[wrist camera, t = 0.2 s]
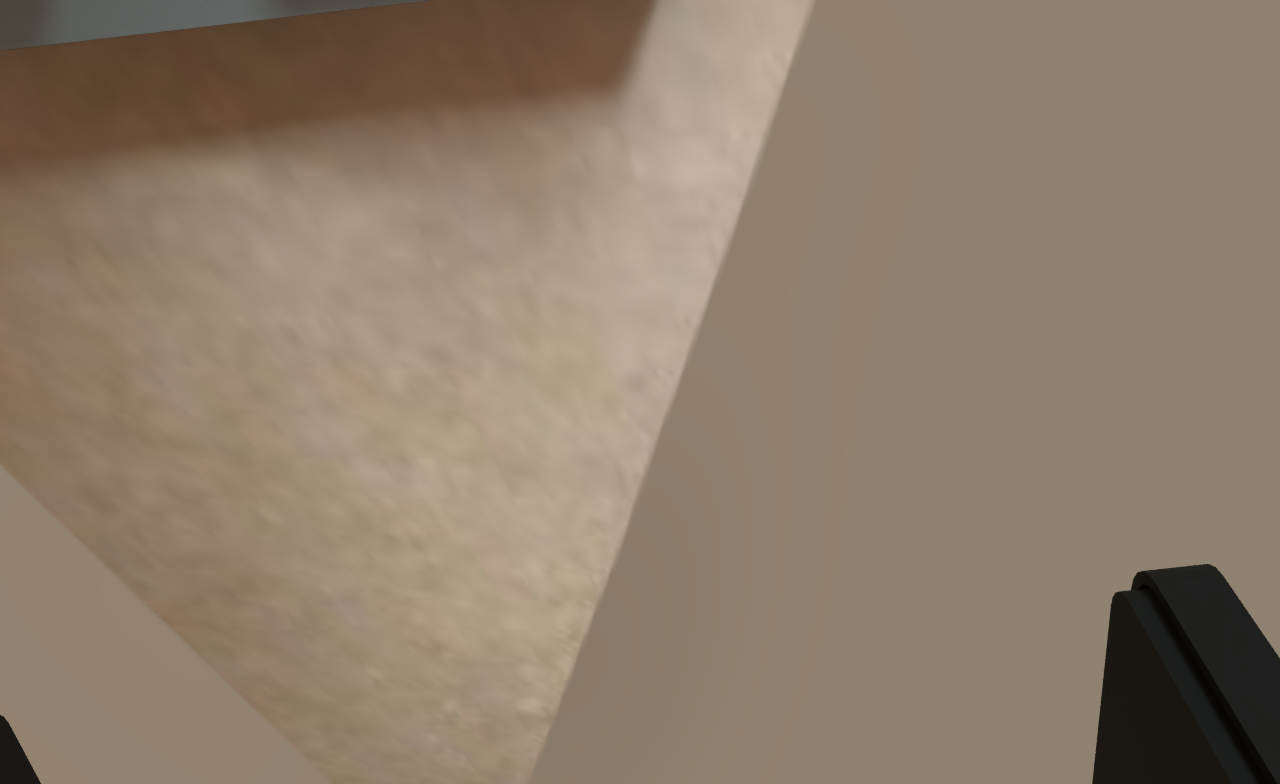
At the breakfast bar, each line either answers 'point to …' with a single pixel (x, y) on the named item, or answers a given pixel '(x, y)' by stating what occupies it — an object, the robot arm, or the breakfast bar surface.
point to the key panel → (143, 16)
